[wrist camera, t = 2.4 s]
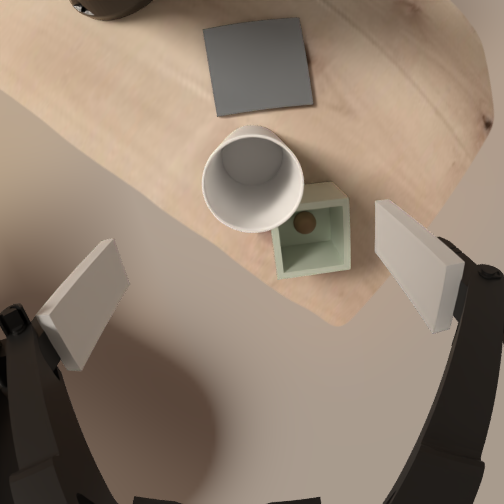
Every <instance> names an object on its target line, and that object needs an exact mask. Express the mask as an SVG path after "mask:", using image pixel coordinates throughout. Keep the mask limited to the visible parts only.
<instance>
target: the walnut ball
mask: <svg viewBox="0 0 504 504" xmlns="http://www.w3.org/2000/svg"><path fill="white" fill-rule="evenodd" d="M293 224H294V228H295V229H296V231H297V232H299V233H301V234H309V233H311V232H312V231H313V230H314V229H315V227H316V219H315V217H314V215H313V214H312V213H310V212H307V211H302V212H299V213H298V214H297V215H296V216H295V218H294V221H293Z"/></svg>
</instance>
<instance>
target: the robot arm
mask: <svg viewBox="0 0 504 504" xmlns="http://www.w3.org/2000/svg"><path fill="white" fill-rule="evenodd" d="M151 1H152V0H70V2H71V4H72V5H73V7H74V8H75V9H76V10H77V11H78V12H80V13H81V14H83V15H86V16H88V17H90V18H93V19H97V20H113V19H118V18H122V17H125V16H127V15H130V14H132V13H134V12H136V11H138V10H140V9H141V8H143V7H144V6H146V5H147V4H149V3H150V2H151ZM375 253H376V254H377V255H378V257H379V258H380V259H381V261H382V262H383V263H384V265H385V266H386V267H387V269H388V270H389V271H390V273H391V274H392V275H393V277H394V278H395V280H396V281H397V282H398V284H399V285H400V287H401V288H402V289H403V291H404V292H405V294H406V295H407V297H408V298H409V299H410V301H411V302H412V304H413V305H414V307H415V308H416V309H417V311H418V313H419V314H420V316H421V317H422V318H423V320H424V321H425V323H426V325H427V326H428V328H429V329H430V331H431V332H432V334H434V333H438V332H441V331H445V330H448V329H450V326H451V322H452V318H453V316H454V317H455V318H456V320H457V321H458V326H457V330H456V333H455V336H454V339H453V342H452V348H451V351H450V354H449V358H448V361H447V365H446V368H445V371H444V374H443V377H442V380H441V382H440V385H439V388H438V391H437V394H436V397H435V399H434V402H433V405H432V407H431V409H430V412H429V414H428V417H427V419H426V421H425V424H424V426H423V428H422V431H421V433H420V435H419V437H418V440H417V442H416V444H415V446H414V448H413V450H412V452H411V454H410V456H409V458H408V460H407V462H406V465H405V466H404V468H403V470H402V472H401V474H400V475H399V477H398V479H397V481H396V483H395V485H394V486H393V488H392V490H391V491H390V493H389V494H388V496H387V498H386V499H385V501H384V502H383V504H473V502H474V499H475V497H476V494H477V492H478V489H479V486H480V483H481V480H482V477H483V473H484V469H485V463H484V462H483V461H481V454H482V450H483V447H484V443H485V440H486V436H487V432H488V428H489V424H490V420H491V415H492V411H493V406H494V401H495V395H496V390H497V384H498V377H499V370H500V361H501V353H502V343H503V344H504V275H503V273H502V272H501V271H500V270H499V269H497V268H495V267H493V266H490V265H485V264H480V265H476V264H475V263H474V262H473V261H472V260H471V259H470V258H469V257H467V256H466V255H465V254H464V253H462V251H460V250H459V249H458V248H456V246H455V245H453V244H452V243H451V242H450V241H448V240H446V239H444V238H441V237H436V236H434V235H433V234H432V233H431V232H430V231H429V230H427V229H426V228H425V227H424V226H423V225H421V224H420V223H419V222H418V221H416V220H415V219H414V218H413V217H411V216H410V215H409V214H408V213H406V212H405V211H404V210H402V209H401V208H400V207H399V206H397V205H396V204H395V203H393V202H392V201H391V200H389V199H386V200H376V201H375ZM129 285H130V283H129V280H128V277H127V274H126V272H125V269H124V266H123V263H122V260H121V257H120V254H119V251H118V248H117V245H116V243H115V239H114V238H113V239H108V240H102V241H101V242H100V243H99V244H98V245H97V246H96V247H95V248H94V249H93V250H92V251H91V253H90V254H89V255H88V256H87V257H86V258H85V259H84V260H83V261H82V262H81V263H80V265H78V266H77V268H76V269H75V270H74V271H73V272H72V273H71V274H70V275H69V277H68V278H67V279H66V280H65V281H64V282H63V283H62V284H61V285H60V287H59V288H58V289H57V290H56V291H55V293H54V294H53V295H52V296H51V297H50V298H49V300H48V301H47V302H46V303H45V304H44V305H43V307H42V308H41V309H40V310H39V312H38V313H37V314H36V316H35V317H34V319H33V320H32V321H31V322H30V320H29V318H28V316H27V314H26V312H25V310H24V309H23V306H22V305H21V304H13V305H11V306H9V307H7V308H6V309H4V310H3V311H2V312H1V313H0V326H1V328H2V330H3V332H4V333H5V335H6V337H7V338H6V339H3V340H0V504H118V503H117V502H116V500H115V499H114V498H113V496H112V494H111V492H110V491H109V489H108V487H107V485H106V483H105V481H104V479H103V477H102V475H101V473H100V471H99V469H98V467H97V465H96V463H95V461H94V458H93V456H92V454H91V452H90V450H89V447H88V445H87V443H86V441H85V438H84V435H83V433H82V431H81V428H80V426H79V423H78V420H77V418H76V415H75V412H74V410H73V407H72V404H71V401H70V398H69V395H68V392H67V389H66V386H65V383H64V380H63V376H62V373H61V371H60V370H59V368H58V367H57V365H58V363H59V361H60V360H61V361H62V362H63V364H64V366H65V367H66V369H67V370H72V371H82V369H83V367H84V365H85V363H86V361H87V359H88V358H89V356H90V354H91V352H92V350H93V348H94V346H95V345H96V343H97V341H98V339H99V337H100V335H101V334H102V332H103V330H104V328H105V326H106V324H107V323H108V321H109V319H110V317H111V316H112V314H113V312H114V310H115V309H116V307H117V305H118V303H119V302H120V300H121V298H122V297H123V295H124V293H125V292H126V290H127V288H128V287H129ZM133 504H181V503H178V502H175V501H165V500H157V499H149V498H142V497H136V496H135V497H134V500H133ZM268 504H321V500H320V497H316V498H309V499H302V500H293V501H283V502H272V503H268Z"/></svg>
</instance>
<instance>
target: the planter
mask: <svg viewBox="0 0 504 504" xmlns="http://www.w3.org/2000/svg"><path fill="white" fill-rule="evenodd" d="M302 211H307V212H310V213H312V214H313V215H314V217H315V219H316V227H315V229H314V230H313V231H312V232H311V233H309V234H301V233H299V232H297V231H296V229H295V228H294V224H293V221H294V218H295V216H296V215H297V214H298V213H299V212H302ZM271 235H272V243H273V250H274V257H275V264H276V271H277V278H278V280H279V279H286V278H294V277H301V276H308V275H315V274H322V273H329V272H336V271H342V270H349V269H351V247H350V209H349V198H348V197H347V196H346V195H345V194H344V193H343V192H342V191H341V190H340V189H339V188H338V187H337V186H336V185H335V184H334V183H333V182H332V181H330V182H321V183H312V184H304V191H303V196H302V199H301V202H300V204H299V206H298V208H297V209H296V211H295V212H294V214H293V215H292V216H291V217H290V218H289V219H288V220H287V221H286V222H284V223H283V224H281V225H280V226H278V227H276V228H274V229H271Z"/></svg>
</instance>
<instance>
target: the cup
mask: <svg viewBox="0 0 504 504" xmlns="http://www.w3.org/2000/svg"><path fill="white" fill-rule="evenodd" d="M202 191H203V196H204V199H205V202H206V204H207V206H208V208H209V209H210V211H211V212H212V214H213V215H214V216H215V217H216V218H217V219H218V220H219V221H220V222H222V223H223V224H225V225H226V226H228V227H230V228H232V229H235V230H238V231H241V232H247V233H259V232H265V231H268V230H271V229H274V228H276V227H278V226H280V225H281V224H283V223H284V222H286V221H287V220H288V219H289V218H290V217H291V216H292V215H293V214H294V212H295V211H296V209H297V208H298V206H299V204H300V202H301V199H302V196H303V191H304V177H303V172H302V168H301V165H300V163H299V161H298V159H297V157H296V156H295V154H294V153H293V152H292V151H291V150H290V149H289V148H288V147H287V146H286V144H285V143H284V142H283V141H282V140H281V139H280V138H279V137H278V136H277V135H276V134H275V133H273V132H272V131H271V130H269V129H267V128H265V127H262V126H259V125H246V126H242V127H240V128H237V129H236V130H234V131H233V132H231V133H230V134H229V135H228V136H227V137H226V138H225V140H224V141H223V142H222V143H221V144H220V145H219V146H218V147H217V148H216V150H215V151H214V152H213V153H212V154H211V156H210V157H209V159H208V161H207V163H206V165H205V168H204V172H203V177H202Z"/></svg>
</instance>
